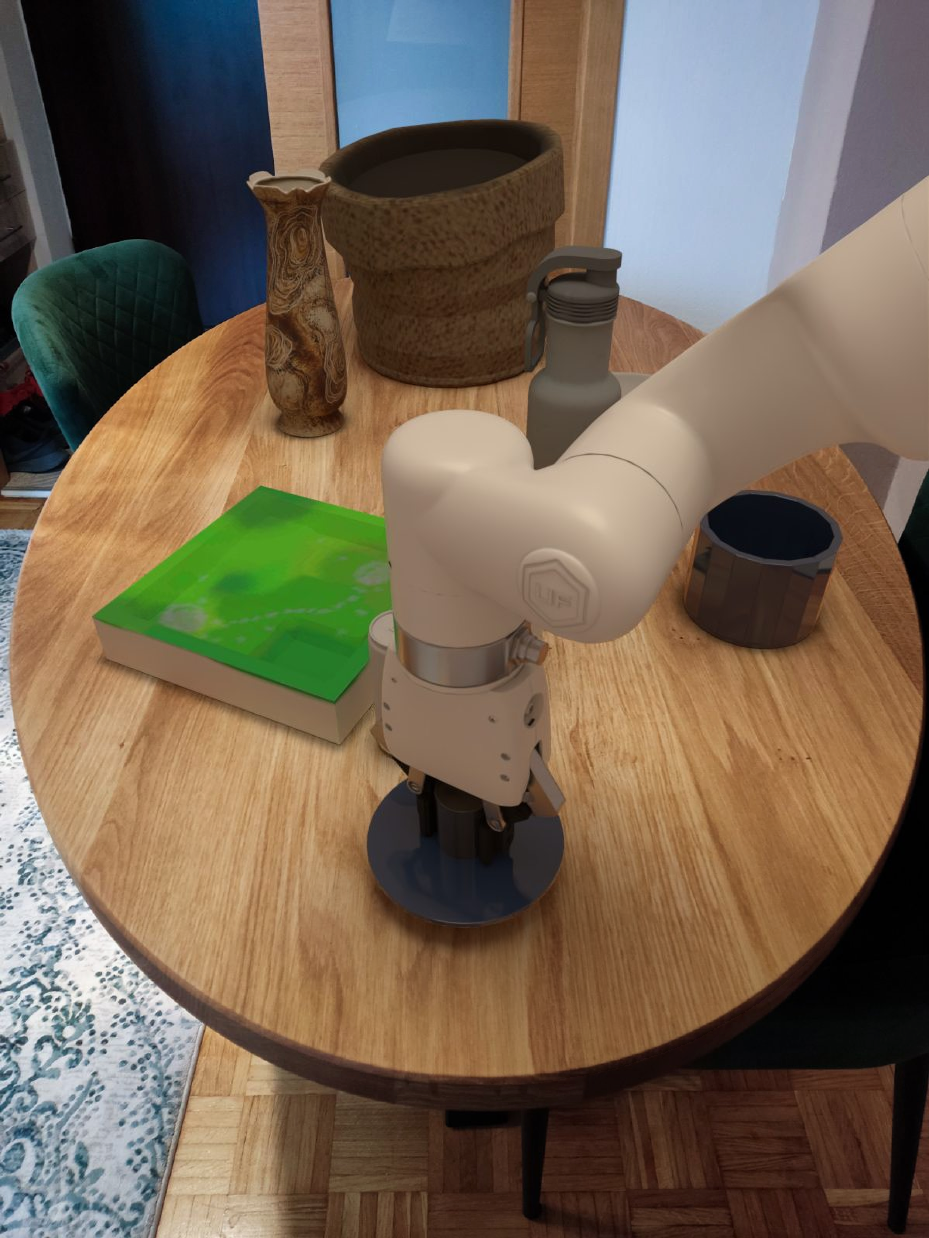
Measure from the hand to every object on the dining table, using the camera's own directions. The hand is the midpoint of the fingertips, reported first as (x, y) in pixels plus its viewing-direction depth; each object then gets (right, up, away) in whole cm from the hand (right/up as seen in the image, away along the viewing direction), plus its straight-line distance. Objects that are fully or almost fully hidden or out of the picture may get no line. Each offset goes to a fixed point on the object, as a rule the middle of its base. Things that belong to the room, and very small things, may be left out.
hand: (465, 833), depth 61 cm
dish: (+21, +40, +55) cm, 71 cm away
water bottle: (+11, +28, +41) cm, 51 cm away
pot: (-3, +57, +76) cm, 95 cm away
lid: (0, -1, 0) cm, 1 cm away
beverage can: (-5, +5, +12) cm, 14 cm away
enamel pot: (+28, +16, +26) cm, 41 cm away
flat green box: (-16, +15, +24) cm, 33 cm away
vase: (-20, +41, +57) cm, 73 cm away
